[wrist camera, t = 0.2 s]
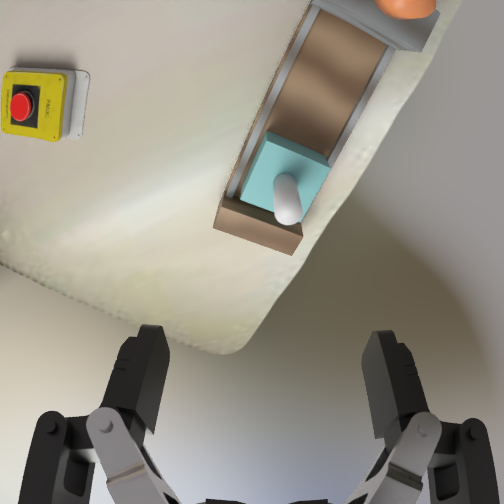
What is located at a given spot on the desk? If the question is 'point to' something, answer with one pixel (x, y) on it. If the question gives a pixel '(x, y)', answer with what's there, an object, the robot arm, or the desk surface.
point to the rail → (318, 99)
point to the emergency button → (44, 102)
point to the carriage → (284, 178)
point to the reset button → (406, 8)
